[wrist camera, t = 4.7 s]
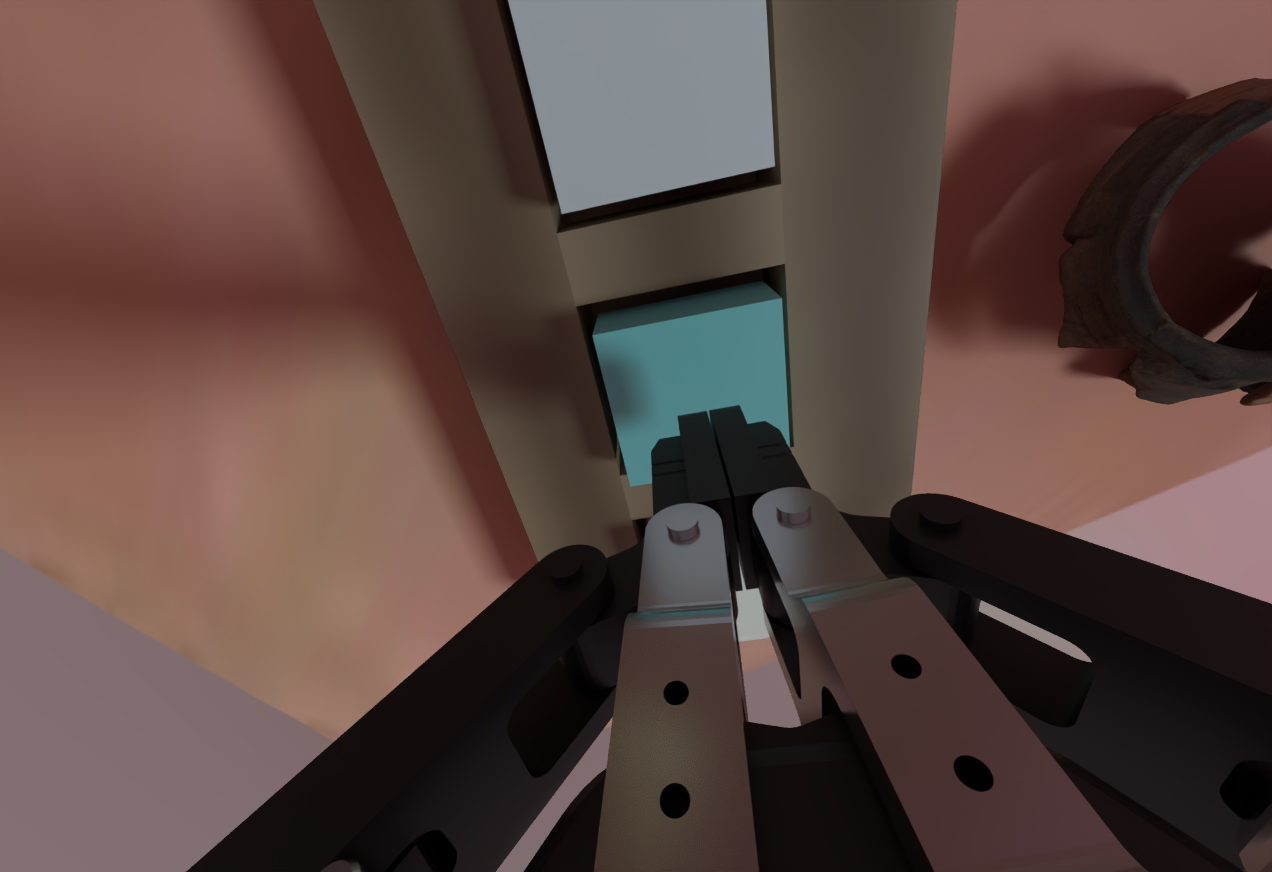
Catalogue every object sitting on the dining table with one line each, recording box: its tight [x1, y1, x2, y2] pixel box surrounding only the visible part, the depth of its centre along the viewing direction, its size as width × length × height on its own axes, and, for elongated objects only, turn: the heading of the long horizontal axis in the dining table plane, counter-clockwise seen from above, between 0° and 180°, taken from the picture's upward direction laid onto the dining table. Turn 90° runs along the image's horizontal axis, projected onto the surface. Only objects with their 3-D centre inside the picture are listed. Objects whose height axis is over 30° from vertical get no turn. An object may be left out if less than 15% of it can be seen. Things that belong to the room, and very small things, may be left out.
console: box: [313, 0, 957, 562], centre depth 17 cm, size 14×24×4 cm, turn 11°
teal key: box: [592, 281, 790, 487], centre depth 15 cm, size 5×5×2 cm
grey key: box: [508, 0, 775, 214], centre depth 11 cm, size 5×5×2 cm
